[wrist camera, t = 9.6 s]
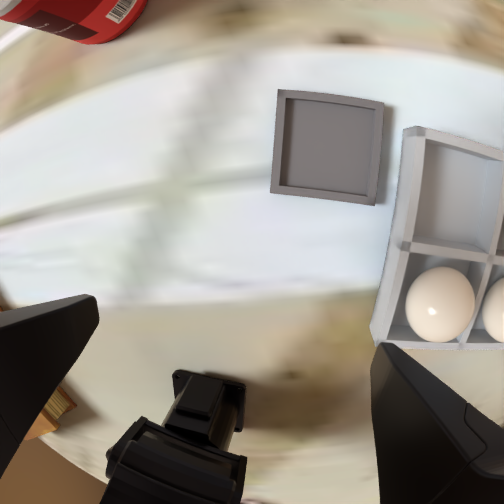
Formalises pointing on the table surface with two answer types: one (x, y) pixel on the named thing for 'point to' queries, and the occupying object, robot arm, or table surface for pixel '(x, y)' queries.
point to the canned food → (75, 17)
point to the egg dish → (327, 146)
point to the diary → (50, 413)
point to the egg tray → (442, 232)
